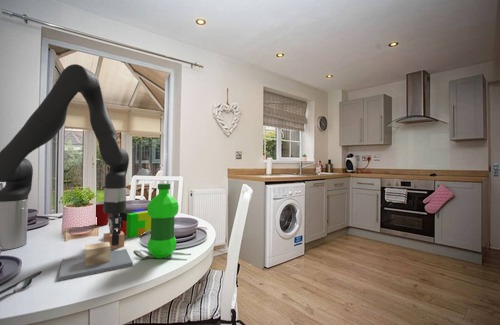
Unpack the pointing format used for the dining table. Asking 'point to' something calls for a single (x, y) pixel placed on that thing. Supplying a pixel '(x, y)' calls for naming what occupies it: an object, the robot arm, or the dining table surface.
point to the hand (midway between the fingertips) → (114, 242)
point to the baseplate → (78, 268)
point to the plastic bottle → (162, 223)
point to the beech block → (97, 253)
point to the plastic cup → (101, 214)
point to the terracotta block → (108, 238)
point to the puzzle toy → (135, 222)
